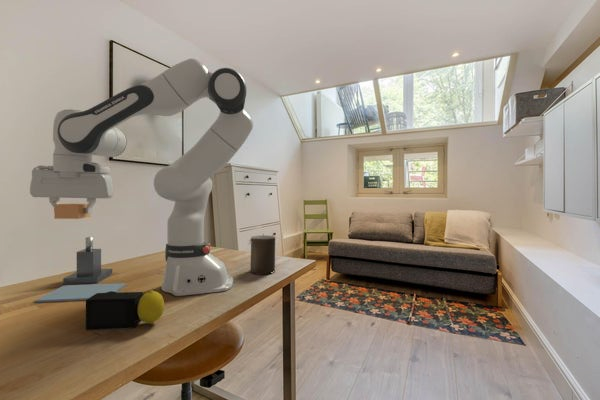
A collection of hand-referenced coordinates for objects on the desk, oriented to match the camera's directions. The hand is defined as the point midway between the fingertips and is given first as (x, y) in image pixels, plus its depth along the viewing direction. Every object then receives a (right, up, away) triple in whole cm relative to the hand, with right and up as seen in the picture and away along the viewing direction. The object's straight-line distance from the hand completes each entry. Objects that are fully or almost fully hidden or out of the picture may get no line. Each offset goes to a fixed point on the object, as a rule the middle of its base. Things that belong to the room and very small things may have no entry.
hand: (73, 213), depth 81 cm
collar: (0, -1, 0) cm, 1 cm away
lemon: (+32, -26, -17) cm, 44 cm away
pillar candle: (+52, -25, +28) cm, 64 cm away
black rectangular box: (+24, -25, -17) cm, 39 cm away
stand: (-6, -24, +14) cm, 28 cm away
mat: (+2, -24, +1) cm, 24 cm away
